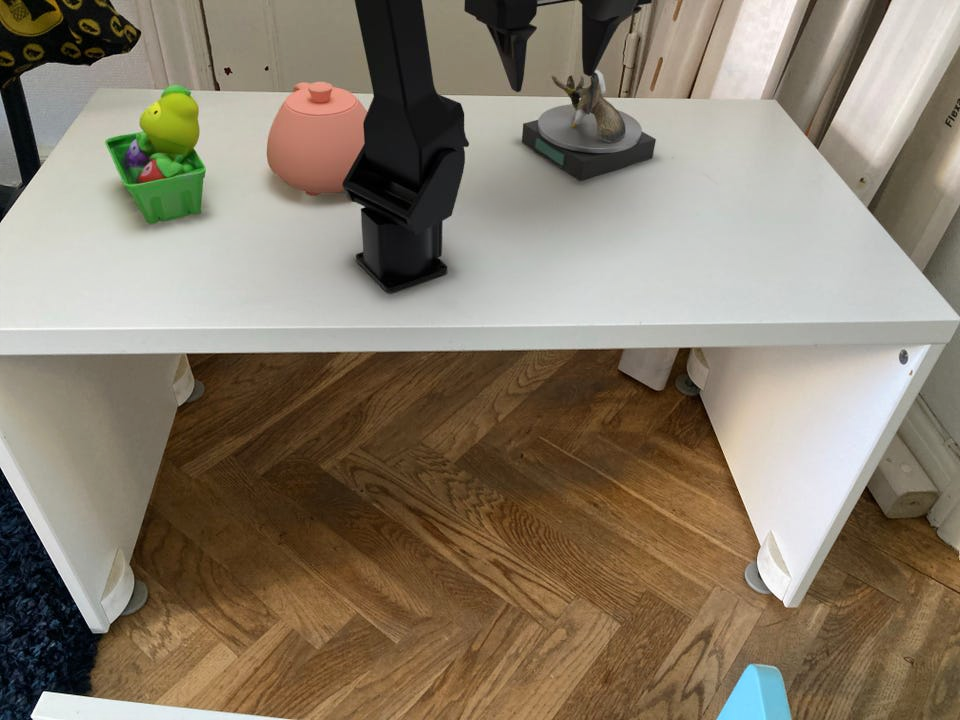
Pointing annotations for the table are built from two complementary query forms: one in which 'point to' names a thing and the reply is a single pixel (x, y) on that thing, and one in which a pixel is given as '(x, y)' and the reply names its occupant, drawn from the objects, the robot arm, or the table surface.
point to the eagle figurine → (594, 106)
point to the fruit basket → (163, 158)
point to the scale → (586, 154)
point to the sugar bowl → (316, 138)
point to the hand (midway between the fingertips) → (552, 82)
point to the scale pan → (584, 131)
